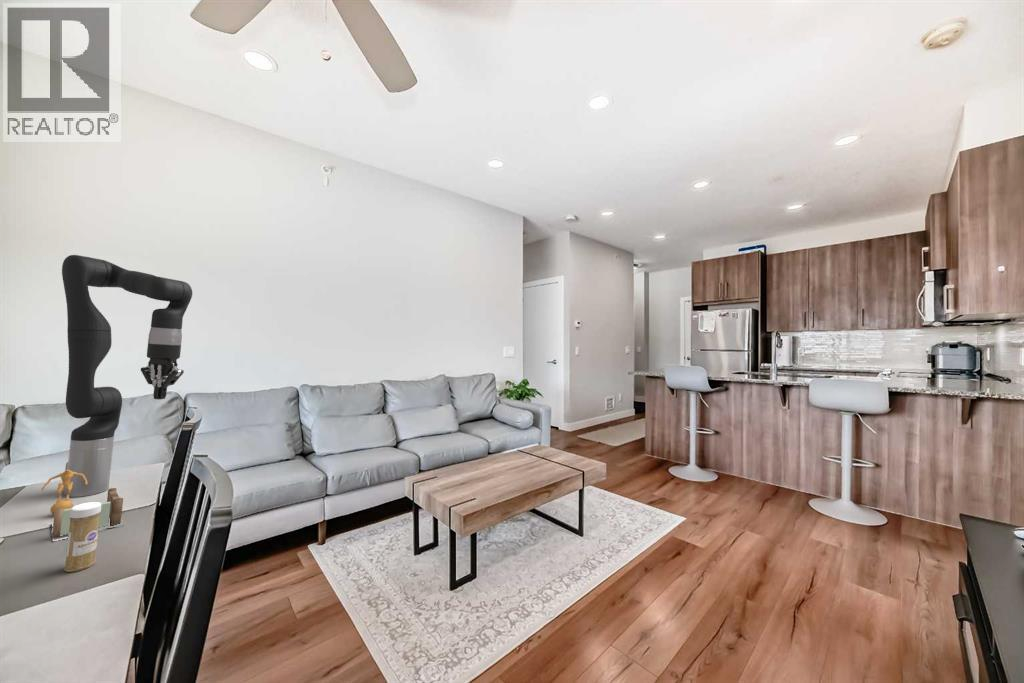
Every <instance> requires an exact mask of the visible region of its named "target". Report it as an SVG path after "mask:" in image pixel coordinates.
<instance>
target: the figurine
mask: <svg viewBox="0 0 1024 683" xmlns="http://www.w3.org/2000/svg"><path fill="white" fill-rule="evenodd" d="M73 475H77V476H82V478H83V479H84V481H85V483H86V485H88V482H87V480H86V478H85V476H84V474H80V473H77V472H73V471H71V470H64V471H63V472H62V473H59V474H57V475H54V476H52V477H50V478H49V479H48V480H47V481H46V482H45V484H43V486H42V488H41V491H44V489H46V486H48V484H50V482H51V481H52V480H54V479H57V478H61V482H60V483H58V484H57V486H58V487H57V495H58V499H57V500H56V502H55V503H53V505H51V507H50V513H51V514H52V515H54V512H55V510H57V509H61V508H64V509H69V508H72V507H74V502H72V501H71V500H69V499H70V497H69V494H70V493H71V492H70V491H71V489H72V485H73V482H70V480H71V478H72V477H73ZM85 483H84V484H85ZM64 486H66V489H67V490H68V492H67V496H65V499H62V494H63V492H62V491H63V488H64Z"/></svg>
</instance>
